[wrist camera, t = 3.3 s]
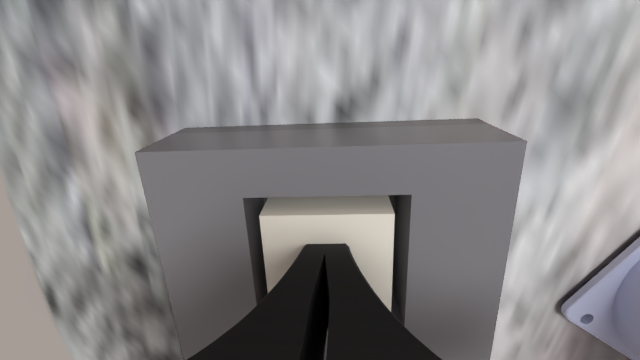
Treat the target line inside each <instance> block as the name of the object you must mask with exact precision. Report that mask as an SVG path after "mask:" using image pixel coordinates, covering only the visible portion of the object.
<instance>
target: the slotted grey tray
mask: <svg viewBox="0 0 640 360" xmlns="http://www.w3.org/2000/svg"><path fill="white" fill-rule="evenodd" d="M526 144H527V141H525V140H523V139H521V138H519V137H516V136H514V135H512V134H510V133H508V132H506V131H503V130H501V129H499V128H497V127H495V126H492V125H490V124H488V123H486V122H484V121H482V120H479V119H449V120H418V121H387V122H357V123H326V124H295V125H264V126H234V127H203V128H184V129H182V130H180V131H178V132H176V133H174V134H172V135H170V136H168V137H166V138H164V139H162V140H159V141H157V142H155V143H153V144H151V145H149V146H147V147H145V148H143V149H141V150H139V151H137V152H135V155H136V160H137V164H138V168H139V172H140V177H141V181H142V185H143V189H144V194H145V198H146V202H147V206H148V211H149V215H150V219H151V223H152V228H153V232H154V236H155V240H156V245H157V249H158V253H159V257H160V262H161V266H162V270H163V274H164V279H165V283H166V287H167V291H168V296H169V300H170V304H171V308H172V312H173V317H174V321H175V325H176V329H177V334H178V338H179V342H180V346H181V351H182V355H183V359H184V360H187V359H188V358H190V357H191V356H193V355H195V354H196V353H198V352H199V351H201V350H202V349H204V348H205V347H206V346H208V345H209V344H211V343H212V342H214V341H215V340H216V339H218V338H219V337H220V336H221V335H223V334H224V333H225V332H227V331H228V330H229V329H231V328H232V327H233V326H234V325H236V324H237V323H238V322H239V321H241V320H242V319H243V318H244V317H245V316H246V315H247V314H248V313H249V312H250V311H252V310H253V309H254V308H255V307H256V306H257V305H258V304H259V303H260V302H261V301H262V300H263V299H264V297H265V296H266V295H267V294H268V290H267V281H266V272H265V263H264V255H263V246H262V237H261V228H260V220H259V215H260V213H261V211H262V209H263V207H264V205H265V203H266V201H267V199H268V197H318V196H369V195H388V196H389V199H390V202H391V205H392V207H393V210H394V213H395V221H394V248H393V276H392V303H391V313H392V314H393V315H394V316H395V317H396V318H397V319H398V320H399V321H400V323H401V324H402V325H403V326H404V327H405V328H406V329H408V330H409V331H410V332H411V333H412V334H413V335H414V336H415V337H416V338H417V339H418V340H419V341H421V342H422V343H423V344H424V345H425V346H426V347H427V348H429V349H430V350H431V351H432V352H433V353H434V354H436V355H437V356H438V357H439V358H441V359H442V360H490V356H491V350H492V344H493V338H494V332H495V326H496V320H497V314H498V309H499V303H500V297H501V291H502V285H503V279H504V273H505V267H506V261H507V256H508V250H509V244H510V238H511V232H512V226H513V220H514V214H515V208H516V203H517V197H518V191H519V185H520V179H521V173H522V167H523V161H524V155H525V150H526ZM327 340H328V329H327V337H326V345H325V353H324V360H326V354H327Z"/></svg>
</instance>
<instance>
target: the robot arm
mask: <svg viewBox="0 0 640 360" xmlns="http://www.w3.org/2000/svg"><path fill="white" fill-rule="evenodd" d="M561 312H562V314H563V315H564V316H565V317H566V318H567V319H568V320H569V321H570V322H572V323H574V324H575V325H577V326H578V327H580V328H582V329H583V330H585V331H586V332H588V333H590V334H591V335H593V336H594V337H596V338H598V339H599V340H601V341H602V342H604V343H606V344H607V345H609V346H610V347H612V348H614V349H615V350H617V351H618V352H620V353H622V354H623V355H625V356H626V357H628V358H630V359H631V360H640V237H639V238H638V239H637V240H635V241H634V242H633V243H632V244H631V245H630V246H629V247H627V248H626V249H625V250H624V251H623V252H622V253H621V254H619V255H618V256H617V257H616V258H615V259H614V260H613V261H611V262H610V263H609V264H608V265H607V266H606V267H605V268H603V269H602V270H601V271H600V272H599V273H598V274H597V275H595V276H594V277H593V278H592V279H591V280H590V281H589V282H587V283H586V284H585V285H584V286H583V287H582V288H581V289H579V290H578V291H577V292H576V293H575V294H574V295H573V296H571V297H570V298H569V299H568V300H567V301H566V302H565V303H564V304H563V305H562V308H561ZM585 314H586V315H585ZM583 315H585V316H583ZM582 316H583V317H582ZM327 329H328V340H327V354H326V360H442V359H441V358H439V357H438V356H437V355H436V354H434V353H433V352H432V351H431V350H430V349H429V348H427V347H426V346H425V345H424V344H423V343H422V342H421V341H419V340H418V339H417V338H416V337H415V336H414V335H413V334H412V333H411V332H410V331H409V330H408V329H406V328H405V327H404V326H403V325H402V324H401V323H400V321H399V320H398V319H397V318H396V317H395V316H394V315H393V314H392V313H391V312H390V311H389V309H388V308H387V307H386V306H385V305H384V303H383V302H382V301H381V300H380V298H379V297H378V296H377V294H376V293H375V292H374V290H373V289H372V288H371V286H370V285H369V283H368V282H367V280H366V279H365V277H364V276H363V274H362V272H361V271H360V269H359V267H358V266H357V264H356V262H355V260H354V258H353V256H352V254H351V251H350V248H349V246H348V245H347V244H346V243H344V244H306V245H305V246H304V247H303V249H302V250H301V252H300V253H299V255H298V256H297V258H296V259H295V261H294V262H293V264H292V265H291V266H290V268H289V269H288V270H287V272H286V273H285V274H284V275H283V277H282V278H281V279H280V280H279V282H278V283H277V284H276V285H275V286H274V287H273V288H272V290H271V291H270V292H269V293H268V294H267V295H266V296H265V297H264V299H263V300H262V301H261V302H260V303H259V304H258V305H257V306H256V307H255V308H254V309H253V310H252V311H250V312H249V313H248V314H247V315H246V316H245V317H244V318H243V319H242V320H241V321H239V322H238V323H237V324H236V325H234V326H233V327H232V328H231V329H229V330H228V331H227V332H225V333H224V334H223V335H221V336H220V337H219V338H218V339H216V340H215V341H214V342H212V343H211V344H209V345H208V346H206V347H205V348H204V349H202V350H201V351H199V352H198V353H196V354H195V355H193V356H191V357H190V358H188V359H187V360H324V353H325V345H326V337H327Z"/></svg>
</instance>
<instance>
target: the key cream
mask: <svg viewBox="0 0 640 360" xmlns="http://www.w3.org/2000/svg"><path fill="white" fill-rule="evenodd" d="M259 220H260V228H261V237H262V246H263V255H264V263H265V272H266V281H267V290H268V293H269V292H270V291H271V290H272V288H273V287H274V286H275V285H276V284H277V283H278V282H279V280H280V279H281V278H282V277H283V275H284V274H285V273H286V272H287V270H288V269H289V268H290V266H291V265H292V264H293V262H294V261H295V259H296V258H297V256H298V255H299V253H300V252H301V250H302V249H303V247H304V246H305V245H306V244H344V243H346V244H347V245H348V246H349V248H350V251H351V254H352V256H353V258H354V260H355V262H356V264H357V266H358V267H359V269H360V271H361V272H362V274H363V276H364V277H365V279H366V280H367V282H368V283H369V285H370V286H371V288H372V289H373V290H374V292H375V293H376V294H377V296H378V297H379V298H380V300H381V301H382V302H383V303H384V305H385V306H386V307H387V308H388V309H389V311H390V312H391V303H392V276H393V248H394V221H395V213H394V210H393V207H392V205H391V202H390V199H389V196H388V195H369V196H318V197H268V199H267V201H266V203H265V205H264V207H263V209H262V211H261V213H260V215H259Z"/></svg>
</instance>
